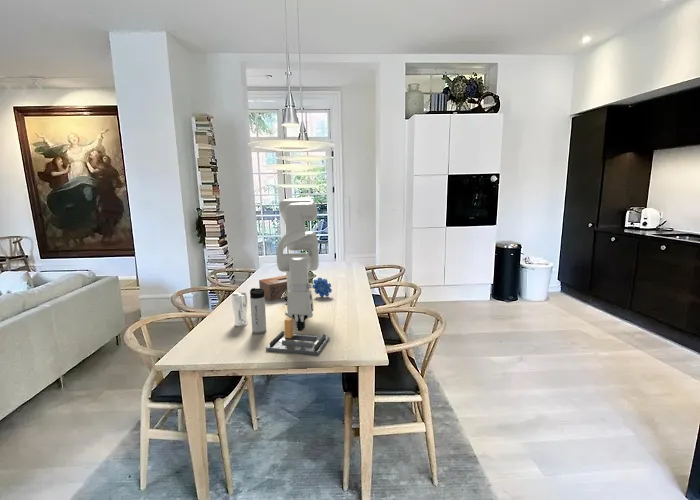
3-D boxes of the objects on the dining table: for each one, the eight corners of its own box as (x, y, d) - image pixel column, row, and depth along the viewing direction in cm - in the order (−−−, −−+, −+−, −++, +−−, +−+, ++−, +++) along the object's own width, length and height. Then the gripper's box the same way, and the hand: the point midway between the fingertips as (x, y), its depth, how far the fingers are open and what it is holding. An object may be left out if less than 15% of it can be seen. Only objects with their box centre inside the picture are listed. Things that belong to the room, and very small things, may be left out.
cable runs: (282, 333, 161) (282, 330, 161) (326, 336, 156) (326, 333, 156) (269, 346, 148) (268, 342, 148) (316, 350, 144) (316, 347, 143)
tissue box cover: (269, 301, 212) (268, 284, 211) (260, 295, 224) (259, 279, 222) (308, 293, 227) (307, 277, 226) (297, 288, 239) (296, 273, 237)
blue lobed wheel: (311, 298, 215) (310, 279, 213) (313, 295, 222) (312, 276, 220) (331, 298, 215) (330, 279, 212) (332, 295, 221) (331, 276, 219)
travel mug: (260, 327, 172) (257, 286, 168) (269, 331, 167) (266, 289, 164) (249, 331, 167) (246, 289, 163) (257, 335, 163) (255, 292, 159)
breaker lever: (287, 337, 155) (286, 317, 154) (294, 338, 154) (293, 317, 153) (284, 341, 152) (283, 320, 150) (291, 341, 151) (290, 320, 149)
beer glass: (233, 322, 179) (231, 293, 176) (247, 320, 181) (246, 291, 179) (234, 327, 172) (231, 297, 170) (249, 325, 175) (247, 295, 172)
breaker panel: (281, 335, 163) (281, 328, 162) (329, 339, 158) (329, 332, 157) (266, 350, 147) (265, 343, 147) (318, 355, 142) (317, 348, 142)
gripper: (319, 285, 150) (320, 327, 153) (285, 283, 153) (287, 325, 156) (313, 290, 143) (315, 334, 146) (278, 288, 146) (280, 332, 149)
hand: (300, 329), depth 151 cm, fingers closed
